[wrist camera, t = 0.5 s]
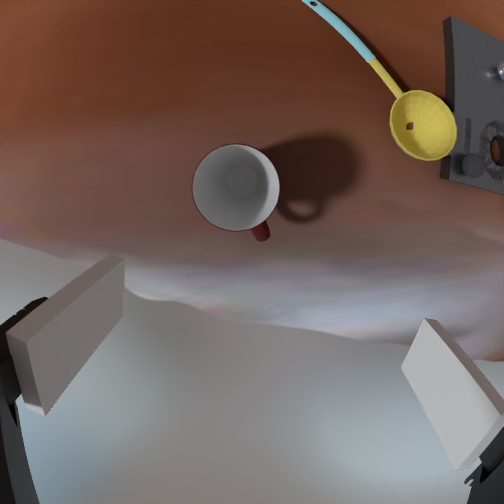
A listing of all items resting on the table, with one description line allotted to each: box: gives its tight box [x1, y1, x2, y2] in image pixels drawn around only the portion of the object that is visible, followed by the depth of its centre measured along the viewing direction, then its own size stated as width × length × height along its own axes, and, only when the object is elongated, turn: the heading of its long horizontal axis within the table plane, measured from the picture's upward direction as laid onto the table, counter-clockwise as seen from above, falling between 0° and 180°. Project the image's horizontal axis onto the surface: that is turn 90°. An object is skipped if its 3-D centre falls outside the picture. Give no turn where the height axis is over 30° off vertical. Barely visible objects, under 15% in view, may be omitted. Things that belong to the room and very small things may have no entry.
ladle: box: [302, 0, 457, 161], centre depth 32 cm, size 9×26×6 cm, turn 38°
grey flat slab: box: [440, 16, 504, 195], centre depth 31 cm, size 24×20×2 cm
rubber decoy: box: [462, 153, 485, 178], centre depth 32 cm, size 3×3×3 cm
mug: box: [192, 144, 280, 242], centre depth 33 cm, size 11×8×10 cm
